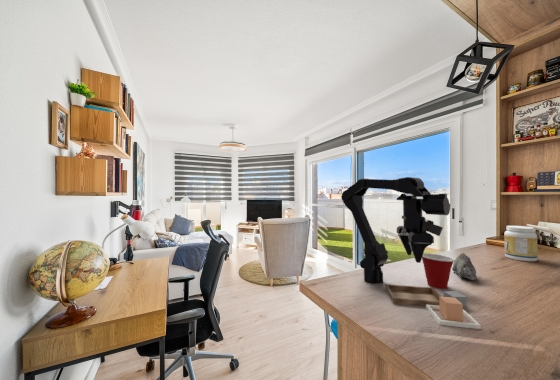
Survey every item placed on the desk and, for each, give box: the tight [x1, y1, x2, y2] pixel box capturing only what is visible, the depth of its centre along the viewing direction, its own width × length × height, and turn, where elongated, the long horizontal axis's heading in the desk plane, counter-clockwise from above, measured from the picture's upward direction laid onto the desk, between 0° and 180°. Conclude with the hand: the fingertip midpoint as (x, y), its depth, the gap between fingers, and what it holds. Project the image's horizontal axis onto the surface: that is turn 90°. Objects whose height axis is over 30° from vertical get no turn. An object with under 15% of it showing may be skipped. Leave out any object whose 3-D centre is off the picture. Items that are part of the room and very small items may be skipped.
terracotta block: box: [439, 296, 464, 322], centre depth 64 cm, size 4×4×5 cm
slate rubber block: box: [443, 290, 468, 308], centre depth 72 cm, size 4×4×4 cm
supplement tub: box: [503, 225, 539, 262], centre depth 122 cm, size 12×12×17 cm
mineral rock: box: [451, 252, 477, 281], centre depth 97 cm, size 13×11×10 cm
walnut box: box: [384, 283, 443, 308], centre depth 76 cm, size 15×11×2 cm
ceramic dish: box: [425, 304, 482, 330], centre depth 64 cm, size 9×9×2 cm
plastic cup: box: [421, 252, 456, 290], centre depth 86 cm, size 11×11×12 cm
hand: (413, 258), depth 79 cm, fingers open, 9 cm apart
